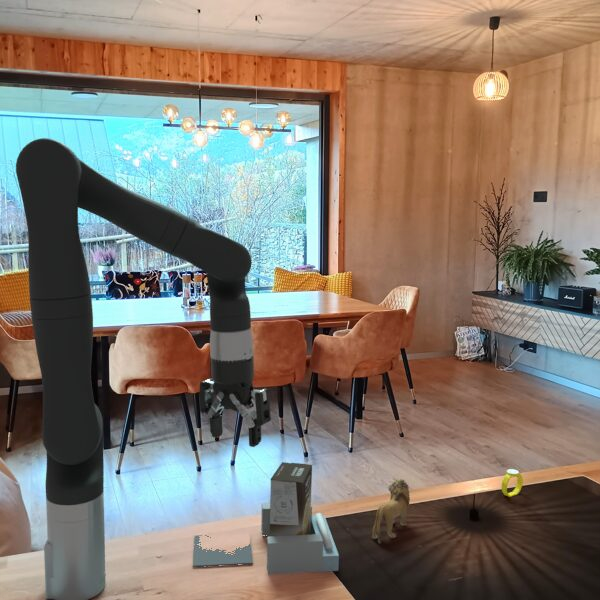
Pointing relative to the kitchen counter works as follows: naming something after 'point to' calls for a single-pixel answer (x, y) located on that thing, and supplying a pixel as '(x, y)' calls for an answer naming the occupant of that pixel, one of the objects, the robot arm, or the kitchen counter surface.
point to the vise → (300, 548)
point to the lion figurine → (393, 508)
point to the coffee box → (291, 500)
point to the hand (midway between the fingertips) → (235, 440)
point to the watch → (506, 479)
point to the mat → (220, 556)
